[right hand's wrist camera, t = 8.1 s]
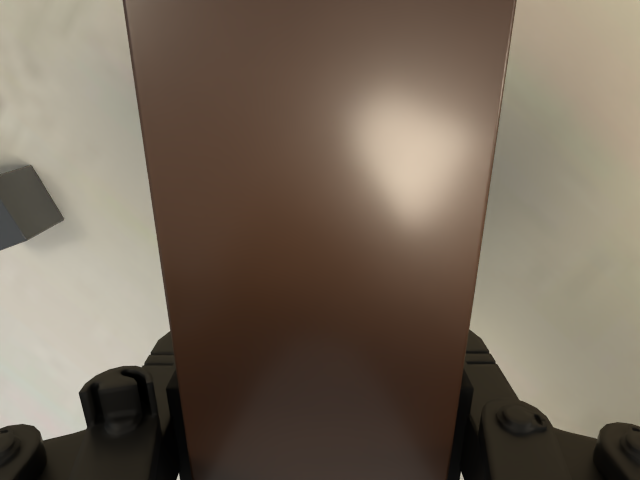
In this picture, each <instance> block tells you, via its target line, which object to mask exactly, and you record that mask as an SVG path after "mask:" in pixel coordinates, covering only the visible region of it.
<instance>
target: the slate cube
mask: <svg viewBox="0 0 640 480" xmlns="http://www.w3.org/2000/svg"><path fill="white" fill-rule="evenodd" d="M63 220H64V218H63V217H62V215H61V213H60V212H59V210H58V208H57V207H56V205H55V203H54V202H53V200H52V198H51V197H50V195H49V194H48V192H47V190H46V189H45V187H44V185H43V184H42V182H41V180H40V179H39V177H38V176H37V174H36V172H35V171H34V169H33V167H32V166H31V165H29V166H26V167H23V168H20V169H16V170H13V171H10V172H7V173H3V174H0V250H3V249H6V248H8V247H11V246H14V245H17V244H19V243H22V242H25V241H27V240H29V239H31V238H33V237H34V236H36V235H38V234H40V233H41V232H43V231H45V230H47V229H49V228H50V227H52V226H54V225H56V224H58V223H59V222H61V221H63Z"/></svg>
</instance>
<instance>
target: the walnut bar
mask: <svg viewBox="0 0 640 480" xmlns="http://www.w3.org/2000/svg"><path fill="white" fill-rule="evenodd" d="M123 6H124V13H125V20H126V27H127V34H128V41H129V48H130V55H131V62H132V68H133V75H134V82H135V89H136V96H137V103H138V110H139V117H140V124H141V131H142V138H143V144H144V151H145V158H146V165H147V172H148V179H149V186H150V193H151V200H152V207H153V214H154V220H155V227H156V234H157V241H158V248H159V255H160V262H161V269H162V276H163V283H164V289H165V296H166V303H167V310H168V317H169V324H170V331H171V338H172V345H173V352H174V359H175V365H176V372H177V379H178V386H179V393H180V400H181V407H182V414H183V421H184V428H185V435H186V441H187V448H188V455H189V462H190V469H191V476H192V480H447V479H448V472H449V465H450V458H451V451H452V444H453V437H454V430H455V424H456V417H457V410H458V403H459V396H460V389H461V382H462V375H463V368H464V361H465V354H466V347H467V340H468V333H469V326H470V319H471V313H472V306H473V299H474V292H475V285H476V278H477V271H478V264H479V257H480V250H481V243H482V236H483V229H484V222H485V215H486V209H487V202H488V195H489V188H490V181H491V174H492V167H493V160H494V153H495V146H496V139H497V132H498V125H499V118H500V111H501V104H502V98H503V91H504V84H505V77H506V70H507V63H508V56H509V49H510V42H511V35H512V28H513V21H514V14H515V7H516V0H123Z"/></svg>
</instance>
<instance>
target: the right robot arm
mask: <svg viewBox="0 0 640 480" xmlns="http://www.w3.org/2000/svg"><path fill="white" fill-rule="evenodd" d="M79 396H80V400H81V404H82V408H83V412H84V416H85V420H86V424H87V429H86V430H83V431H80V432H76V433H73V434H69V435H65V436H60V437H56V438H52V439H48V440H44V441H43V440H42V437H41V434H40V431H39V430H37V429H36V428H35V427H34V426H30V425H25V424H19V425H11V426H6V427H3V428H1V429H0V480H176V479H177V476H178V474H179V475H180V480H192V476H191V469H190V462H189V455H188V448H187V441H186V435H185V428H184V421H183V414H182V407H181V400H180V393H179V386H178V379H177V372H176V365H175V359H174V352H173V345H172V338H171V331H170V332H168V333H167V334H166V335H165V336H163V337H162V338H161V339H159V340H158V342H157V343H156V345H155V347H154V348H153V350H152V352H151V355H149V356H148V358H147V360H146V361H145V364H144V366H142V367H138V366H122V367H118V368H113V369H109V370H107V371H105V372H103V373H101V374H98V375H96V376H95V377H94V378H92V379H91V380H90V381H88V382H87V383H86V384H85V385H84V386H83V388H82V389H81V390H80V392H79ZM461 472H462V475H463V478H464V480H640V427H639V426H636V425H633V424H627V423H620V422H616V423H611V424H606V425H605V426H604V427H603V428H602V429H601V430H600V432H599V436H598V439H595V438H591V437H587V436H583V435H578V434H574V433H570V432H566V431H563V430H559V429H556V428H554V427H553V426H552V424H551V423H550V421H549V420H548V418H547V417H546V416H545V415H544V414H543V413H542V412H541V411H539V410H538V409H537V408H535V407H534V406H532V405H530V404H528V403H526V402H524V401H520V400H519V399H518V397H517V396H516V394H515V392H514V391H513V389H512V387H511V386H510V384H509V383H508V381H507V379H506V378H505V376H504V375H503V373H502V371H501V370H500V368H499V366H498V365H497V364H496V363H495V360H494V358H493V357H492V355H491V354H489V350H488V349H487V347H486V345H485V344H484V342H483V341H482V339H481V338H480V337H478V336H477V335H476V334H475V333H473V332H472V331H471V330H469V333H468V340H467V347H466V354H465V361H464V368H463V375H462V382H461V389H460V396H459V403H458V410H457V417H456V424H455V430H454V437H453V444H452V451H451V458H450V465H449V472H448V479H447V480H460V474H461Z"/></svg>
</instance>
